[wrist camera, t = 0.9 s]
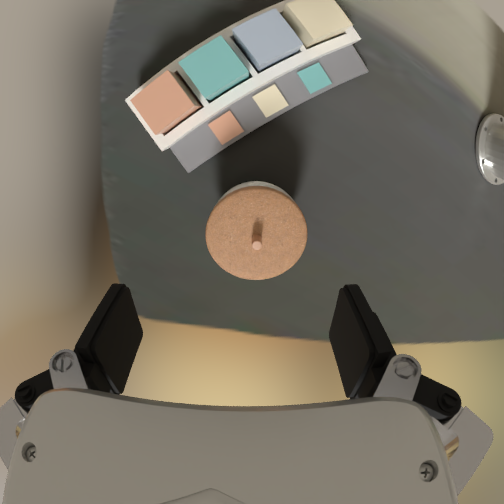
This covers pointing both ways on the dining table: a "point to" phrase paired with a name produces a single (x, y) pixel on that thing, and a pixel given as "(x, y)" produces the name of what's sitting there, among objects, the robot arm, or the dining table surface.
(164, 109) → the key
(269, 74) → the keypad
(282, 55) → the key
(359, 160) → the dining table surface
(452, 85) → the dining table surface
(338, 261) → the dining table surface
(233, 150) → the dining table surface
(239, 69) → the key
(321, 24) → the key
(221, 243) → the lidded jar
